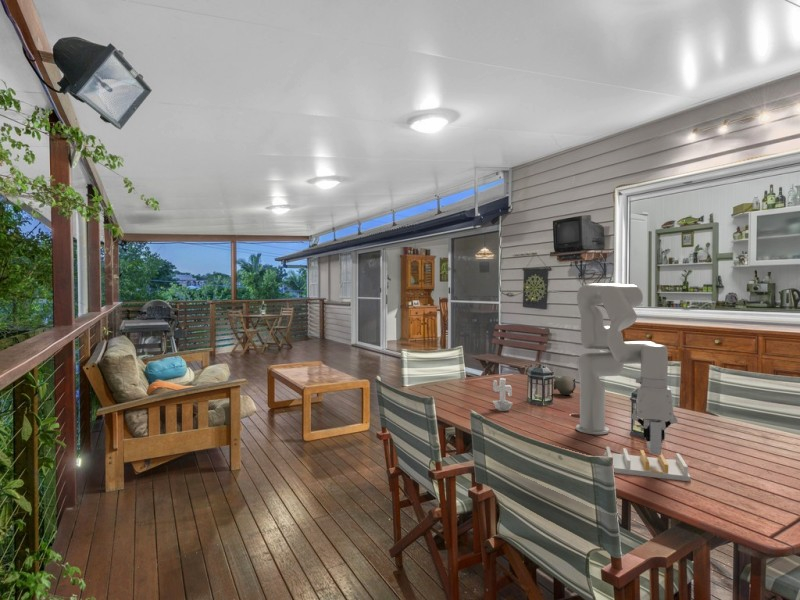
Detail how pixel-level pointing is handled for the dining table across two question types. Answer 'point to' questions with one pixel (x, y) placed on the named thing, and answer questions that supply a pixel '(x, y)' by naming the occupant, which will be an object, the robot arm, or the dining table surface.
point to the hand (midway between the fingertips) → (653, 440)
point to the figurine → (502, 395)
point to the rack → (649, 465)
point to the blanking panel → (654, 437)
